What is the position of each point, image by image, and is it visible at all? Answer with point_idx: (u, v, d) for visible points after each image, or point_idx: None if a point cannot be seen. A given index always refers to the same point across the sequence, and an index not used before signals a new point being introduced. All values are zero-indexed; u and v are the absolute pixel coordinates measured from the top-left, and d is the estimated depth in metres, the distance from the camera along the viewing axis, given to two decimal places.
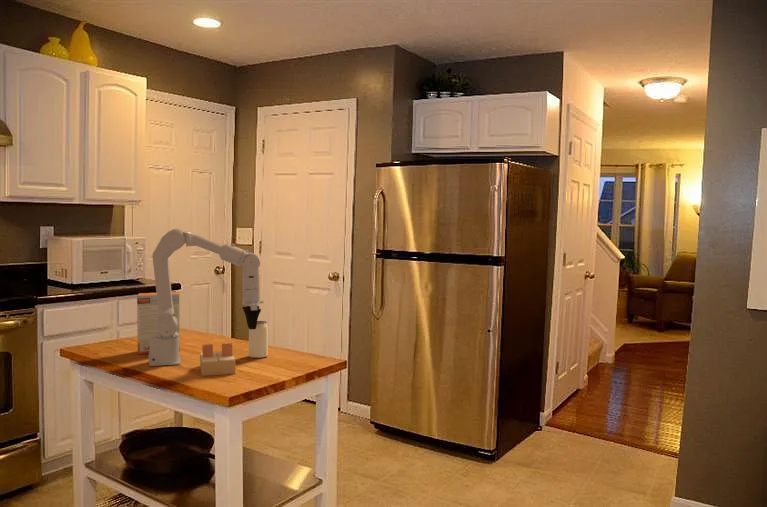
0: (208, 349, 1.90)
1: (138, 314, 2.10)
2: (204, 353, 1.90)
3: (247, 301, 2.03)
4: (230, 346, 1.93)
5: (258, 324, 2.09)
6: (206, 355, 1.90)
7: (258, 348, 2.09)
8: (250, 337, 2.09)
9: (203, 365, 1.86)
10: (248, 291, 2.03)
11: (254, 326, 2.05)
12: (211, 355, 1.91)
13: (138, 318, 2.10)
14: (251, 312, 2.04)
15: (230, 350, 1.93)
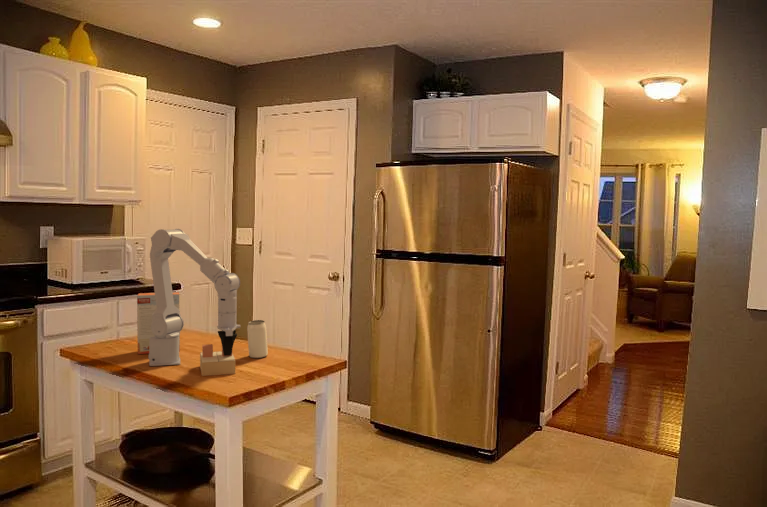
0: (208, 349, 1.90)
1: (138, 314, 2.10)
2: (204, 353, 1.90)
3: (222, 325, 1.90)
4: None
5: (257, 325, 2.08)
6: (206, 355, 1.90)
7: (259, 348, 2.08)
8: (249, 338, 2.08)
9: (203, 365, 1.86)
10: (224, 315, 1.90)
11: (229, 352, 1.92)
12: (211, 355, 1.91)
13: (138, 318, 2.10)
14: (226, 337, 1.91)
15: None
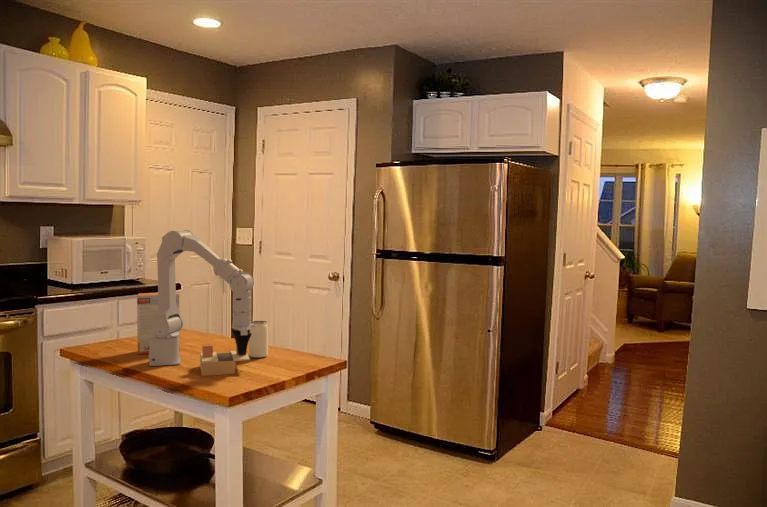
0: (208, 349, 1.90)
1: (138, 314, 2.10)
2: (204, 353, 1.90)
3: (237, 325, 1.92)
4: None
5: (260, 324, 2.09)
6: (206, 355, 1.90)
7: (260, 347, 2.09)
8: (251, 337, 2.09)
9: (203, 365, 1.86)
10: (238, 314, 1.91)
11: (244, 351, 1.94)
12: (211, 355, 1.91)
13: (138, 318, 2.10)
14: (241, 336, 1.93)
15: None
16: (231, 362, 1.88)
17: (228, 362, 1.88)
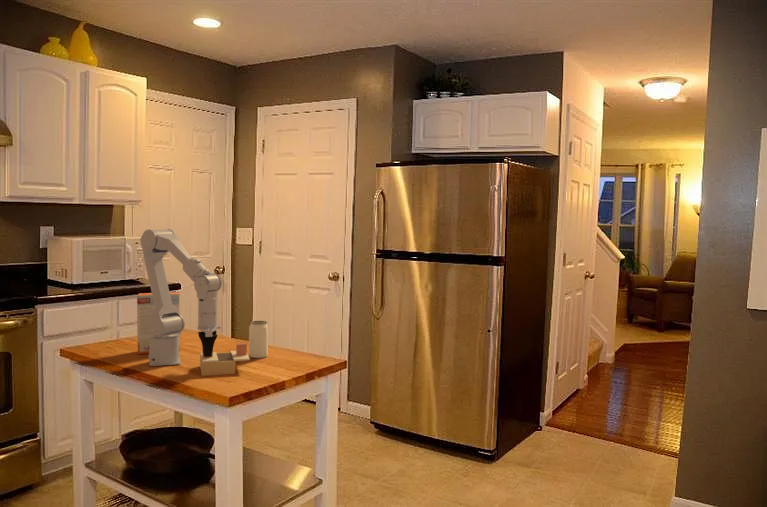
0: None
1: (138, 314, 2.10)
2: None
3: (202, 326, 1.88)
4: (244, 345, 1.94)
5: (260, 325, 2.08)
6: None
7: (261, 348, 2.09)
8: (251, 338, 2.09)
9: (203, 365, 1.86)
10: (204, 315, 1.88)
11: (209, 353, 1.90)
12: (211, 355, 1.91)
13: (138, 318, 2.10)
14: (207, 338, 1.89)
15: (244, 349, 1.94)
16: (231, 362, 1.88)
17: (228, 362, 1.88)
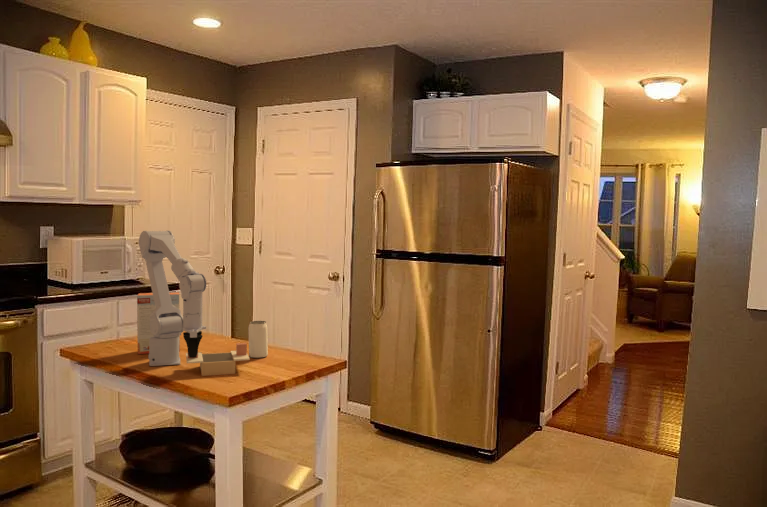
0: None
1: (138, 314, 2.10)
2: None
3: (187, 327, 1.87)
4: (244, 345, 1.94)
5: (260, 324, 2.09)
6: None
7: (261, 348, 2.09)
8: (251, 337, 2.09)
9: (203, 365, 1.86)
10: (188, 316, 1.87)
11: (194, 354, 1.89)
12: (196, 356, 1.90)
13: (138, 318, 2.10)
14: (191, 339, 1.88)
15: (244, 349, 1.94)
16: (231, 362, 1.88)
17: (228, 362, 1.88)
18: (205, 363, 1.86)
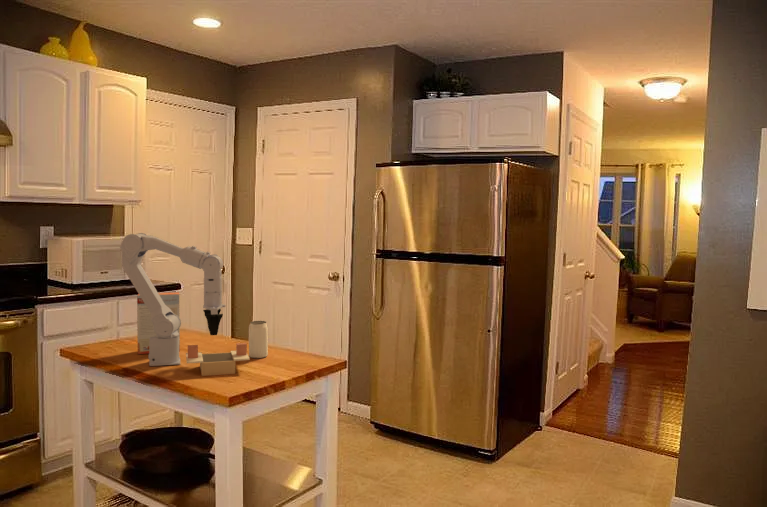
0: (193, 350, 1.89)
1: (138, 314, 2.10)
2: (189, 354, 1.89)
3: (208, 305, 1.97)
4: (244, 345, 1.94)
5: (260, 324, 2.09)
6: (191, 356, 1.89)
7: (261, 348, 2.09)
8: (252, 338, 2.09)
9: (203, 365, 1.86)
10: (209, 294, 1.97)
11: (215, 332, 1.97)
12: (196, 356, 1.90)
13: (138, 318, 2.10)
14: (212, 317, 1.96)
15: (244, 349, 1.94)
16: (231, 362, 1.88)
17: (228, 362, 1.88)
18: (205, 363, 1.86)
